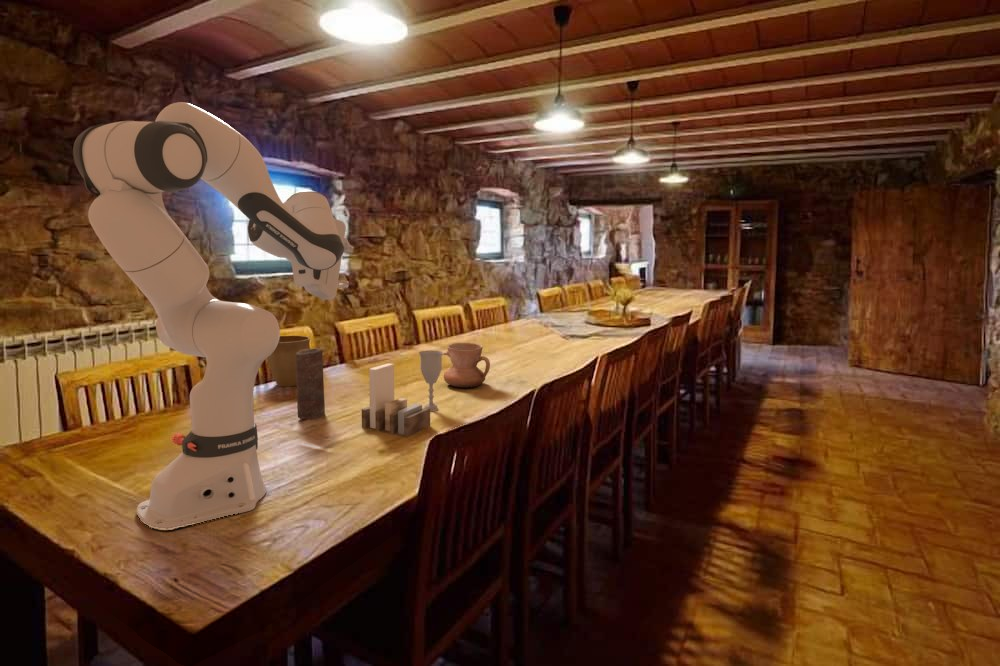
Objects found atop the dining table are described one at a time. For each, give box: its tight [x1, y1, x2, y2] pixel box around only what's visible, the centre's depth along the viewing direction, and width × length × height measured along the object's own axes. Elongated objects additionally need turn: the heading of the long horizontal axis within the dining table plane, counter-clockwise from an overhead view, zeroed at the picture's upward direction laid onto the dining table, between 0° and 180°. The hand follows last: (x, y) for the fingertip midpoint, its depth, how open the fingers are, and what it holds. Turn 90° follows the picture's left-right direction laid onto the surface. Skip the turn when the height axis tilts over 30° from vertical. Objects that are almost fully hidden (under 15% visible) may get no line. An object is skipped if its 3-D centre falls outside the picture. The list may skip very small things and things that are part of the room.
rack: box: [361, 405, 431, 438], centre depth 158 cm, size 10×15×6 cm, turn 63°
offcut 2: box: [398, 403, 423, 435], centre depth 156 cm, size 8×2×6 cm, turn 153°
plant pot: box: [266, 335, 311, 388], centre depth 202 cm, size 15×15×16 cm
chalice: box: [418, 349, 444, 412], centre depth 174 cm, size 7×7×18 cm
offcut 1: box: [385, 397, 408, 431], centre depth 158 cm, size 7×2×7 cm, turn 153°
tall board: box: [368, 363, 395, 429], centre depth 159 cm, size 8×2×16 cm, turn 153°
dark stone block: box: [296, 348, 326, 420], centre depth 165 cm, size 8×7×20 cm
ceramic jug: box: [442, 342, 491, 389], centre depth 206 cm, size 18×14×14 cm
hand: (349, 267), depth 153 cm, fingers open, 8 cm apart
